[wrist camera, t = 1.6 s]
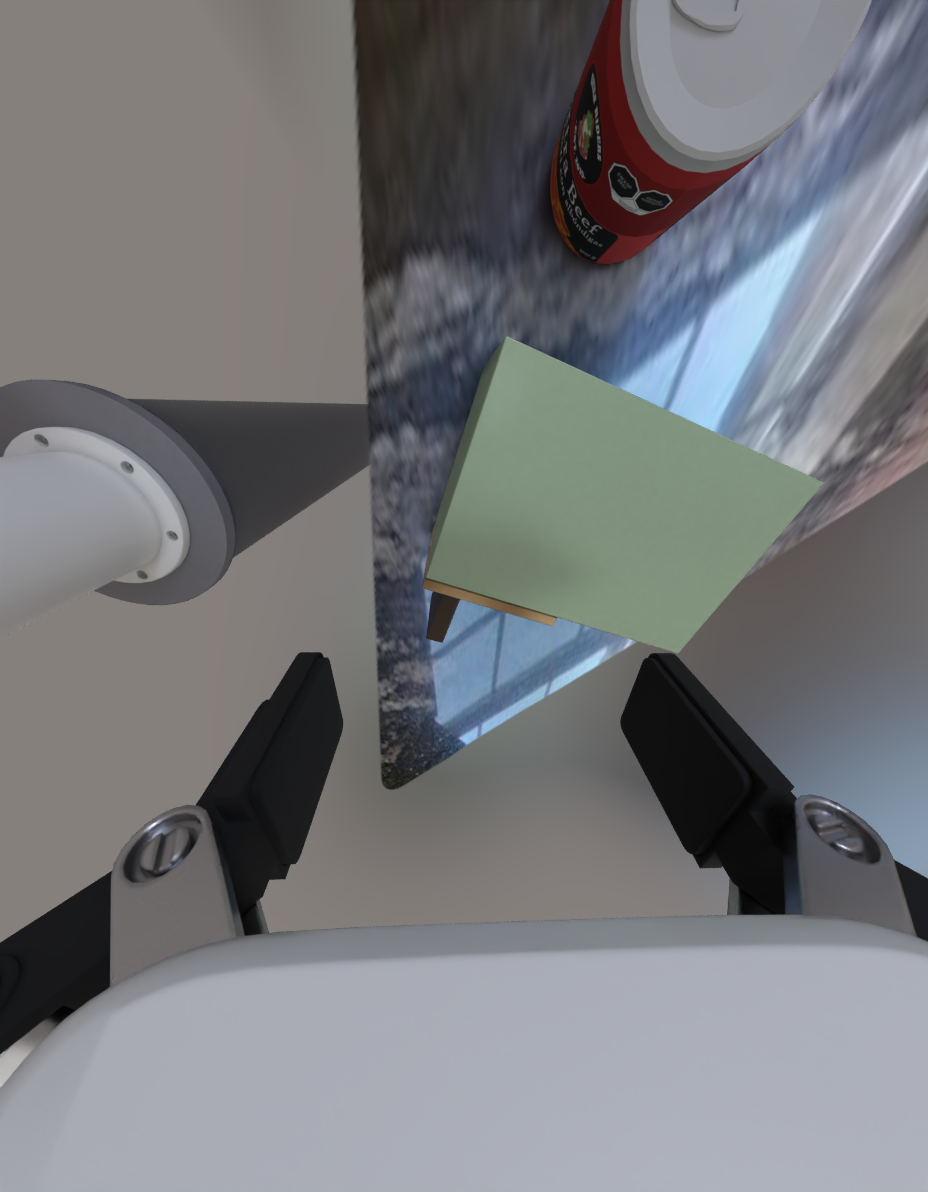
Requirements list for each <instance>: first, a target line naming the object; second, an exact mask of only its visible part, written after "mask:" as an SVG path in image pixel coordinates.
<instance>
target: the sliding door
mask: <svg viewBox="0 0 928 1192" xmlns="http://www.w3.org/2000/svg"><path fill="white" fill-rule="evenodd" d="M434 528H435V524H434V527H433V531H432V536H431V542H430V547H429V552H428V558H427V563H426V568H425V574H424V579H423V585H422V588H424V589H428V590H431V591H433V593H432V597H431V604H430V612H429V620H428V628H427V636H426V638H427V639H430V640H434V641H438V642H441V643H442V642H443V640H444V638H445V635H446V633H447V630H448V628H449V625H450V623H451V620H452V618H453V615H454V613H455V610H456V608H457V606H458V603H459V601H460V599H462V600H465V601H468V602H472V603H475V604H479V605H482V606H485V607H489V608H492V609H496V610H499V611H502V612H506V613H509V614H513V615H516V616H519V617H523V618H526V619H530V620H533V621H536V622H540V623H543V624H547V625H550V626H553V624H554V623H555V621H556V619H557V618H556V617H555V616H552V615H548V614H545V613H542V612H538V611H535V610H532V609H528V608H525V607H522V606H518V605H515V604H512V603H508V602H505V601H502V600H498V599H495V598H492V597H488V596H485V595H482V594H478V593H475V592H472V591H468V590H465V589H462V588H458V587H455V586H452V585H448V584H445V583H442V582H438V581H435V580H432V579H428V578H426V574H427V568H428V563H429V557H430V551H431V545H432V540H433V534H434Z"/></svg>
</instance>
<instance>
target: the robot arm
mask: <svg viewBox="0 0 928 1192" xmlns="http://www.w3.org/2000/svg"><path fill="white" fill-rule="evenodd" d="M189 545H190V531H189V526H188V522H187V518H186V516H185V513H184V511H183V508H182V506H181V504H180V502H179V501H178V499H177V497H176V496H175V494H174V492H173V491H172V489H171V488H170V487H169V486H168V484H167V483H166V482H165V481H164V480H163V478H162V477H161V476H160V475H159V474H158V473H157V472H156V471H155V470H154V469H153V468H152V467H151V466H150V465H149V464H148V463H147V462H145V461H144V460H143V459H141V458H140V457H139V456H137V455H136V454H135V453H133V452H132V451H131V450H129V449H127V448H126V447H124V446H122V445H120V444H119V443H117V442H115V441H113V440H112V439H109V438H107V437H104V436H102V435H99V434H97V433H94V432H91V431H87V430H83V429H79V428H75V427H45V428H36V429H32V430H29V431H26V432H23V433H22V434H20V435H19V436H17V437H16V438H14V439H13V440H12V441H11V442H10V444H9V445H8V447H7V448H6V450H5V452H4V456H3V457H0V638H2V637H4V636H5V635H8V634H9V633H11V632H13V631H15V630H17V629H19V628H21V627H23V626H25V625H27V624H29V623H31V622H33V621H35V620H37V619H39V618H41V617H43V616H45V615H47V614H49V613H51V612H52V611H55V610H57V609H58V608H60V607H62V606H64V605H66V604H68V603H70V602H72V601H74V600H76V599H78V598H80V597H82V596H84V595H86V594H88V593H90V592H92V591H94V590H96V589H98V588H100V587H102V586H104V585H106V584H108V583H110V582H112V581H113V580H114V581H119V582H124V583H144V582H152V581H154V580H157V579H160V578H163V577H164V576H166V575H168V574H169V573H171V572H173V571H174V570H175V569H177V568H178V567H179V566H180V565H181V564H182V562H183V561H184V559H185V557H186V556H187V553H188V549H189ZM620 723H621V728H622V730H623V733H624V735H625V737H626V738H627V740H628V742H629V744H630V746H631V748H632V750H633V752H634V754H635V756H636V757H637V759H638V761H639V763H640V765H641V767H642V769H643V771H644V773H645V775H646V776H647V778H648V780H649V782H650V784H651V786H652V788H653V790H654V792H655V793H656V796H657V797H658V799H659V801H660V803H661V805H662V807H663V809H664V811H665V813H666V815H667V816H668V818H669V820H670V822H671V824H672V826H673V828H674V830H675V832H676V834H677V835H678V837H679V839H680V841H681V843H682V845H683V846H684V848H685V849H686V850H687V852H689V853H690V854H693V856H694V858H695V860H696V862H697V864H698V865H699V867H700V868H721V867H722V866H723V867H724V869H725V871H726V872H727V874H728V876H729V877H730V883H729V897H728V913H727V915H713V916H712V915H711V916H673V917H640V918H639V917H637V918H604V919H572V920H543V921H542V920H541V921H513V922H512V921H511V922H484V923H482V922H481V923H457V924H429V925H402V926H376V927H355V928H354V927H353V928H336V929H320V930H303V931H286V932H275V933H269V931H268V927H267V924H266V920H265V917H264V913H263V910H262V906H261V903H260V898H262V897H263V894H264V892H265V889H266V887H267V884H268V882H269V880H274V879H286V876H287V873H288V870H289V867H290V865H291V864H296V863H297V861H298V860H299V858H300V855H301V852H302V849H303V847H304V843H305V840H306V838H307V835H308V832H309V829H310V826H311V823H312V820H313V817H314V814H315V810H316V808H317V805H318V802H319V799H320V796H321V793H322V790H323V787H324V784H325V781H326V778H327V775H328V772H329V769H330V766H331V763H332V760H333V757H334V754H335V751H336V748H337V745H338V742H339V740H340V737H341V733H342V729H343V718H342V714H341V709H340V705H339V701H338V696H337V692H336V687H335V683H334V678H333V674H332V669H331V665H330V661H329V659H328V658H324V657H323V654H322V653H319V652H313V653H311V652H310V653H309V652H301V653H299V654H298V655H297V656H296V658H295V659H294V661H293V662H292V664H291V666H290V667H289V669H288V671H287V672H286V674H285V676H284V677H283V679H282V680H281V682H280V684H279V685H278V687H277V688H276V690H275V691H274V693H273V695H272V697H271V698H270V699H269V700H265V701H264V702H262V704H261V705H260V706H259V708H258V709H257V710H256V712H255V714H254V715H253V717H252V718H251V720H250V722H249V723H248V725H247V726H246V728H245V729H244V731H243V732H242V734H241V736H240V737H239V739H238V740H237V742H236V743H235V745H234V747H233V748H232V749H231V751H230V753H229V754H228V756H227V757H226V759H225V760H224V762H223V764H222V765H221V767H220V768H219V770H218V771H217V773H216V775H215V776H214V778H213V779H212V781H211V782H210V784H209V785H208V787H207V789H206V790H205V792H204V793H203V795H202V797H201V798H200V800H199V801H198V802H197V804H196V806H193V805H186V806H181V807H177V808H174V809H171V810H169V811H167V812H164V813H162V814H160V815H159V816H157V817H156V818H154V819H153V820H151V821H149V822H148V823H146V824H145V825H144V826H143V827H142V828H141V829H140V830H139V831H138V832H136V833H135V834H134V835H133V836H132V837H131V838H130V840H129V841H128V842H127V843H126V844H125V846H124V847H123V848H122V849H121V851H120V853H119V855H118V857H117V859H116V861H115V862H114V865H113V870H112V871H111V872H109V873H108V874H106V875H105V876H103V877H102V878H100V879H99V880H97V881H95V882H94V883H92V884H91V885H89V886H88V887H86V888H85V889H83V890H81V891H80V892H78V893H77V894H75V895H74V896H72V897H71V898H69V899H67V900H66V901H64V902H63V903H62V904H60V905H58V906H57V907H55V908H54V909H52V910H50V911H49V912H47V913H46V914H44V915H43V916H41V917H40V918H38V919H37V920H35V921H33V922H32V923H30V924H29V925H27V926H25V927H24V928H22V929H21V930H19V931H18V932H16V933H15V934H13V935H11V936H10V937H8V938H7V939H5V940H4V941H2V942H1V943H0V1192H928V879H927V878H926V877H924V876H922V875H920V874H919V873H917V872H915V871H913V870H911V869H910V868H908V867H906V866H904V865H902V864H901V863H899V862H897V861H895V860H894V859H893V856H892V854H891V852H890V850H889V848H888V846H887V844H886V843H885V842H884V841H883V840H882V838H881V837H880V836H879V834H878V833H877V832H876V831H875V830H874V829H872V827H871V826H870V825H868V824H867V823H866V822H865V821H864V820H863V819H861V818H860V817H859V816H857V815H856V814H855V813H853V812H852V811H850V810H849V809H847V808H845V807H843V806H842V805H840V804H838V803H836V802H834V801H832V800H829V799H826V798H824V797H820V796H816V795H802V796H800V797H799V798H798V799H797V798H796V797H795V796H794V795H793V794H792V792H791V790H792V789H793V788H794V786H793V785H792V784H791V783H790V781H789V780H788V779H787V778H786V777H785V776H784V775H783V774H782V773H781V771H779V769H778V768H777V767H776V766H775V765H774V764H773V763H772V761H771V760H770V759H769V758H768V757H767V756H766V755H765V754H764V753H763V751H762V750H761V749H760V748H759V747H758V746H757V745H756V744H755V743H754V741H753V740H752V739H751V738H750V737H749V736H748V735H747V734H746V733H745V732H744V730H743V729H742V728H741V727H740V726H739V725H738V724H737V723H736V721H735V720H734V719H733V718H732V717H731V716H730V715H729V714H728V713H727V712H726V710H725V709H724V708H723V707H722V706H721V705H720V704H719V703H718V701H717V700H716V699H715V698H714V697H713V696H712V695H711V694H710V693H709V692H708V690H707V689H706V688H705V687H704V686H703V685H702V684H701V683H700V682H699V680H698V679H697V678H696V677H695V676H694V675H693V674H692V673H691V672H690V670H688V668H687V667H686V666H685V665H684V664H683V663H682V662H681V661H680V659H679V658H678V657H677V656H676V655H675V654H672V653H653V654H650V655H649V657H648V658H646V659H644V661H643V663H642V665H641V668H640V670H639V673H638V675H637V678H636V681H635V683H634V686H633V688H632V691H631V693H630V696H629V699H628V701H627V704H626V706H625V709H624V712H623V714H622V716H621V722H620Z"/></svg>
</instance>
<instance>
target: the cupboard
mask: <svg viewBox="0 0 928 1192" xmlns="http://www.w3.org/2000/svg"><path fill="white" fill-rule="evenodd" d="M822 485H823V482H821V481H819V480H817V479H815V478H813V477H810V476H808V475H806V474H804V473H802V472H800V471H797V470H795V469H793V468H791V467H789V466H787V465H784V464H782V463H780V462H778V461H776V460H774V459H771V458H769V457H767V456H765V455H763V454H761V453H758V452H756V451H754V450H752V449H750V448H748V447H746V446H743V445H741V444H739V443H737V442H735V441H733V440H730V439H728V438H726V437H724V436H722V435H720V434H717V433H715V432H713V431H711V430H709V429H707V428H704V427H702V426H700V425H698V424H696V423H694V422H691V421H689V420H687V419H685V418H683V417H681V416H678V415H676V414H674V413H672V412H670V411H668V410H665V409H663V408H661V407H659V406H657V405H655V404H653V403H650V402H648V401H646V400H644V399H642V398H640V397H637V396H635V395H633V394H631V393H629V392H627V391H624V390H622V389H620V388H618V387H616V386H614V385H611V384H609V383H607V382H605V381H603V380H601V379H598V378H596V377H594V376H592V375H590V374H588V373H585V372H583V371H581V370H579V369H577V368H575V367H573V366H570V365H568V364H566V363H564V362H562V361H560V360H557V359H555V358H553V357H551V356H549V355H547V354H544V353H542V352H540V351H538V350H536V349H534V348H531V347H529V346H527V345H525V344H523V343H521V342H518V341H516V340H514V339H512V338H510V337H505V338H504V340H503V341H502V343H501V344H500V345H499V347H498V348H497V350H496V351H495V352H494V354H493V355H492V356H491V358H490V359H489V361H488V362H487V363H486V365H485V366H484V369H483V372H482V375H481V378H480V381H479V384H478V388H477V391H476V394H475V397H474V400H473V403H472V406H471V410H470V413H469V416H468V419H467V422H466V425H465V429H464V432H463V435H462V438H461V441H460V444H459V447H458V451H457V454H456V457H455V460H454V463H453V466H452V470H451V473H450V476H449V479H448V482H447V485H446V488H445V492H444V495H443V498H442V501H441V504H440V507H439V511H438V514H437V517H436V520H435V523H434V524H435V528H434V534H433V540H432V545H431V551H430V557H429V563H428V568H427V574H426V578H428V579H432V580H435V581H438V582H442V583H445V584H448V585H452V586H455V587H458V588H462V589H465V590H468V591H472V592H475V593H478V594H482V595H485V596H488V597H492V598H495V599H498V600H502V601H505V602H508V603H512V604H515V605H518V606H522V607H525V608H528V609H532V610H535V611H538V612H542V613H545V614H548V615H552V616H555V617H558V618H562V619H565V620H568V621H572V622H575V623H578V624H582V625H585V626H588V627H591V628H595V629H598V630H601V631H605V632H608V633H611V634H615V635H618V636H621V637H625V638H628V639H631V640H635V641H638V642H642V643H645V644H648V645H652V646H655V647H658V648H662V649H665V650H668V651H671V652H675V653H679V652H680V650H681V649H682V648H683V647H684V646H685V645H686V643H687V642H688V641H689V640H690V639H691V637H692V636H693V635H694V634H695V633H696V632H697V630H698V629H699V628H700V627H701V626H702V625H703V624H704V622H705V621H706V620H707V619H708V618H709V617H710V615H711V614H712V613H713V612H714V611H715V610H716V608H717V607H718V606H719V605H720V604H721V603H722V601H723V600H724V599H725V598H726V597H727V596H728V594H729V593H730V592H731V591H732V590H733V589H734V587H735V586H736V585H737V584H738V583H739V582H740V580H741V579H742V578H743V577H744V576H745V575H746V573H747V572H748V571H749V570H750V569H751V568H752V566H753V565H754V564H755V563H756V562H757V561H758V559H759V558H760V557H761V556H762V555H763V554H764V552H765V551H766V550H767V549H768V548H769V547H770V545H771V544H772V543H773V542H774V541H775V540H776V538H777V537H778V536H779V535H780V534H781V533H782V531H783V530H784V529H785V528H786V527H787V526H788V524H789V523H790V522H791V521H792V520H793V519H794V517H795V516H796V515H797V514H798V513H799V512H800V510H801V509H802V508H803V507H804V506H805V505H806V503H807V502H808V501H809V500H810V499H811V498H812V496H813V495H814V494H815V493H816V492H817V491H818V489H819V488H820V487H821V486H822ZM433 527H434V526H433ZM432 531H433V529H432Z"/></svg>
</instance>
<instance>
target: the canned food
mask: <svg viewBox="0 0 928 1192" xmlns="http://www.w3.org/2000/svg"><path fill="white" fill-rule="evenodd" d="M871 1H872V0H610V2H609V4H608V7H607V10H606V12H605V15H604V18H603V20H602V23H601V26H600V28H599V31H598V34H597V36H596V39H595V42H594V44H593V47H592V50H591V52H590V55H589V58H588V60H587V63H586V66H585V68H584V71H583V73H582V76H581V79H580V81H579V84H578V87H577V89H576V92H575V95H574V97H573V100H572V103H571V105H570V108H569V111H568V113H567V116H566V119H565V121H564V124H563V127H562V129H561V132H560V135H559V137H558V141H557V145H556V148H555V152H554V156H553V162H552V169H551V203H552V210H553V216H554V220H555V223H556V226H557V229H558V232H559V234H560V235H561V237H562V239H563V241H564V243H565V244H566V245H567V246H568V248H569V249H570V250H571V251H572V252H573V253H574V254H576V255H577V256H578V257H580V258H581V259H583V260H586V261H589V262H591V263H599V264H611V263H617V262H621V261H624V260H626V259H628V258H631V257H633V256H634V255H636V254H637V253H639V252H640V251H642V250H643V249H645V248H646V247H647V246H649V245H650V244H651V243H652V242H653V241H655V240H656V239H657V238H658V237H660V236H661V235H662V234H663V233H664V232H666V231H667V230H668V229H669V228H671V227H672V226H673V225H674V224H675V223H677V222H678V221H679V220H680V219H681V218H683V217H684V216H685V215H686V214H688V213H689V212H690V211H691V210H692V209H694V208H695V207H696V206H697V205H699V204H700V203H701V202H702V201H703V200H705V199H706V198H707V197H708V196H710V195H711V194H712V193H713V192H714V191H716V190H717V189H718V188H719V187H721V186H722V185H723V184H724V183H725V182H727V181H728V180H729V179H730V178H732V177H733V176H734V175H735V174H736V173H738V172H739V171H740V170H741V169H742V168H744V167H745V166H746V165H747V164H748V163H750V162H751V161H752V160H753V159H754V158H755V157H756V156H757V155H758V154H760V153H761V152H762V151H763V150H764V149H766V148H767V147H768V146H769V145H770V144H772V143H773V142H774V141H775V140H776V139H777V138H778V137H779V136H780V135H781V134H782V133H783V132H784V131H785V130H786V129H787V128H789V127H790V126H791V125H792V124H793V122H794V121H795V120H796V119H797V118H798V117H799V116H800V115H801V114H802V113H803V112H804V111H805V110H806V109H807V108H808V107H809V105H810V104H811V103H812V102H813V100H814V99H815V98H816V97H817V96H818V94H819V93H820V92H821V91H822V89H823V88H824V87H825V86H826V85H827V83H828V82H829V80H830V78H831V77H832V75H833V74H834V72H835V71H836V69H837V68H838V66H839V64H840V63H841V61H842V60H843V58H844V57H845V55H846V54H847V52H848V50H849V48H850V46H851V44H852V42H853V40H854V38H855V36H856V34H857V32H858V30H859V28H860V26H861V24H862V22H863V20H864V18H865V16H866V14H867V12H868V9H869V6H870V4H871Z"/></svg>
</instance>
